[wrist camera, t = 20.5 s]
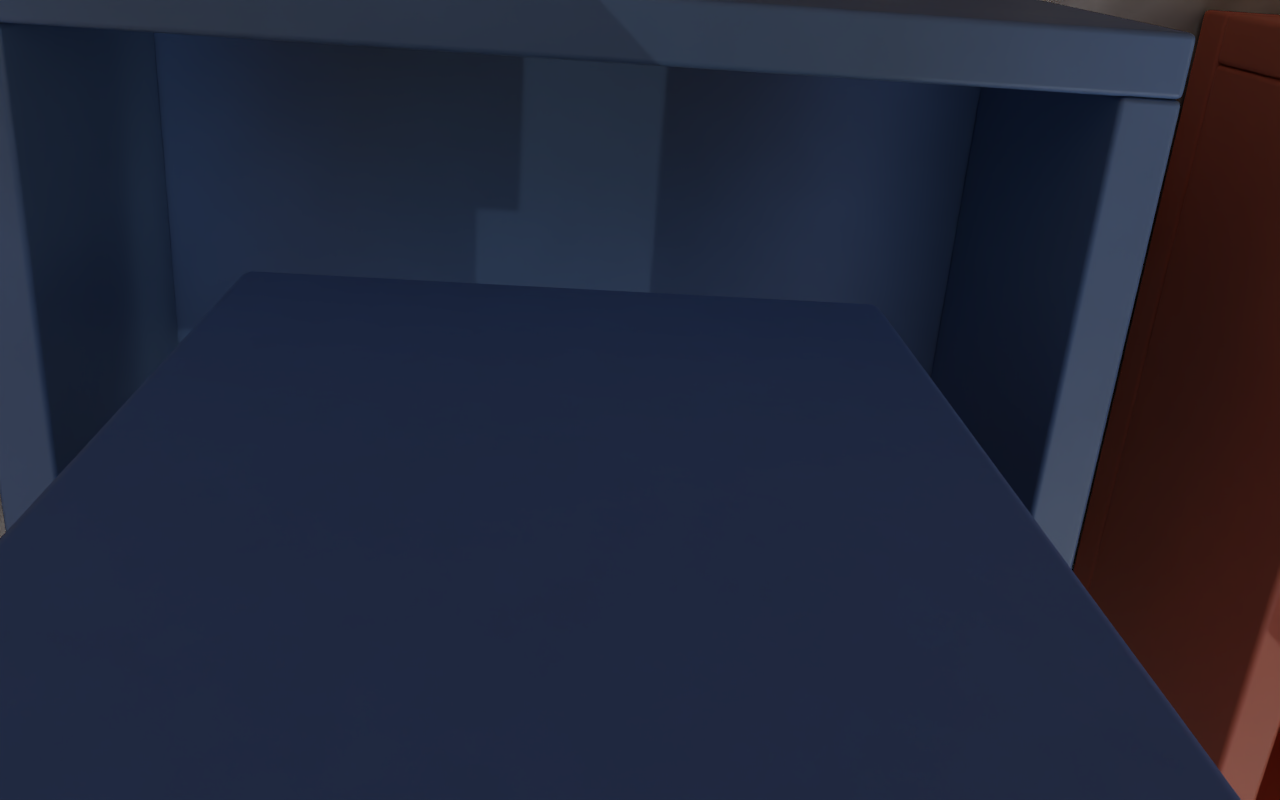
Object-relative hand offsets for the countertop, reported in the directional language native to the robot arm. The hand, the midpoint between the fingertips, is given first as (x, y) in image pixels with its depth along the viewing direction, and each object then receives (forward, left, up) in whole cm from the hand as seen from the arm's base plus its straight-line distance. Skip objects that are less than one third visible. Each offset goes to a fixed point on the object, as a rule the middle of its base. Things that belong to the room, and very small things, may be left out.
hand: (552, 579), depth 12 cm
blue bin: (0, 0, -5) cm, 5 cm away
